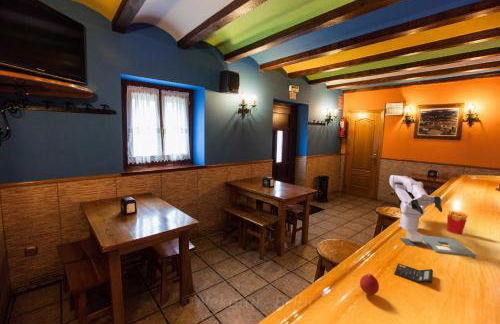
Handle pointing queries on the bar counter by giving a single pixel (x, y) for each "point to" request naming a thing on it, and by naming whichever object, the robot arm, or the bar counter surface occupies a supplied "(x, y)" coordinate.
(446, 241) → the hole plate
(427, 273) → the calculator
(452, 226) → the french fries
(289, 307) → the bar counter surface
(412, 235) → the tan cubic block
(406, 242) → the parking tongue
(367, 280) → the onion
